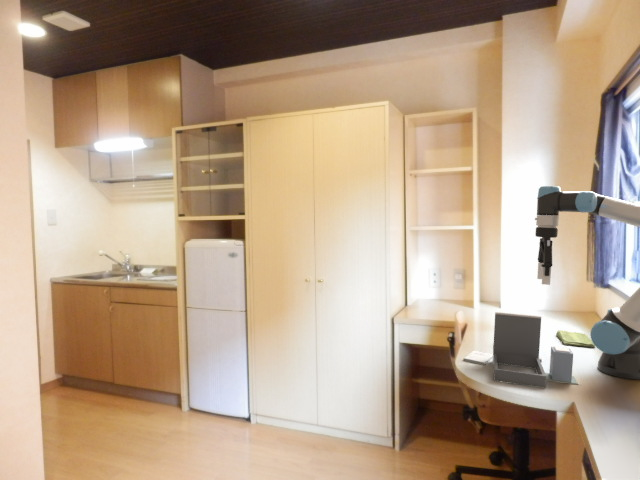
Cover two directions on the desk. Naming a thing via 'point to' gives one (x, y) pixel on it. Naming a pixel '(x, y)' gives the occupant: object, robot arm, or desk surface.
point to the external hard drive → (478, 357)
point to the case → (518, 348)
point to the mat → (561, 381)
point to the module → (561, 364)
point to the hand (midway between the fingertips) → (543, 281)
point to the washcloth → (574, 339)
